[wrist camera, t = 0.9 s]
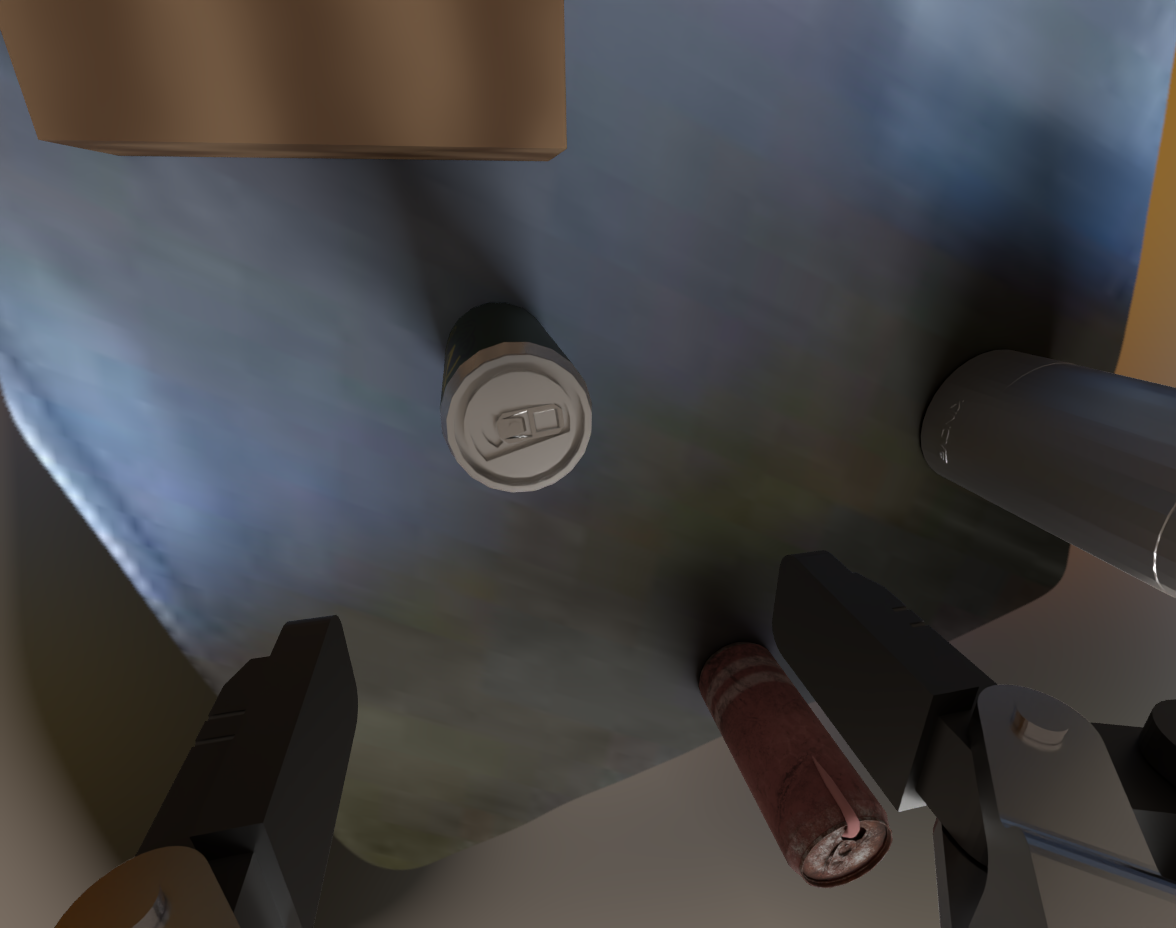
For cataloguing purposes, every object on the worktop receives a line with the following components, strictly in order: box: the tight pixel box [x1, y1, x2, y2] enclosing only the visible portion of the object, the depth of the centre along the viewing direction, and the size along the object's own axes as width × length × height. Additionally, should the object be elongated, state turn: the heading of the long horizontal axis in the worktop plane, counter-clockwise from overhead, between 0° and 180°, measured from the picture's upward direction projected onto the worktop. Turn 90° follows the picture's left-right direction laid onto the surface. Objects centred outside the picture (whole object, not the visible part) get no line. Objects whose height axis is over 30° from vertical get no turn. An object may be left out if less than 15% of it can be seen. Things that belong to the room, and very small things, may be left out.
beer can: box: [440, 303, 592, 492], centre depth 24 cm, size 5×5×12 cm
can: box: [699, 642, 892, 888], centre depth 36 cm, size 6×6×14 cm
